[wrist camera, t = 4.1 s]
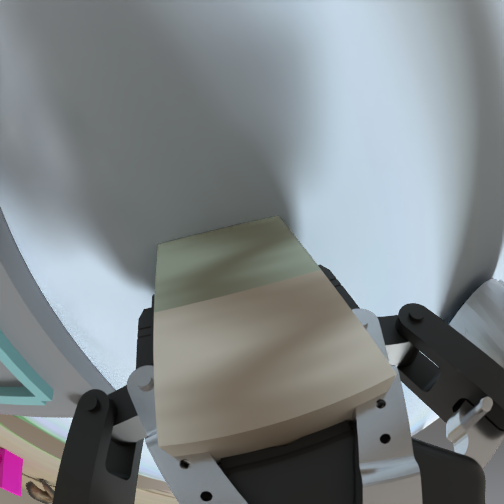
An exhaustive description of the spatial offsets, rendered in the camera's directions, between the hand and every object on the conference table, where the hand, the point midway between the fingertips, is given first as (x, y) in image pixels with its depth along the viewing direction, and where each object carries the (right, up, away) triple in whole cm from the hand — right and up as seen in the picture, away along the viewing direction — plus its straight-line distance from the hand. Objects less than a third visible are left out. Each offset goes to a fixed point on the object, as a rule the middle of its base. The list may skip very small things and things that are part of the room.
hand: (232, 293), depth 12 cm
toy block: (-42, -33, +9) cm, 54 cm away
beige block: (0, +1, +1) cm, 1 cm away
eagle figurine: (-43, -54, +18) cm, 71 cm away
